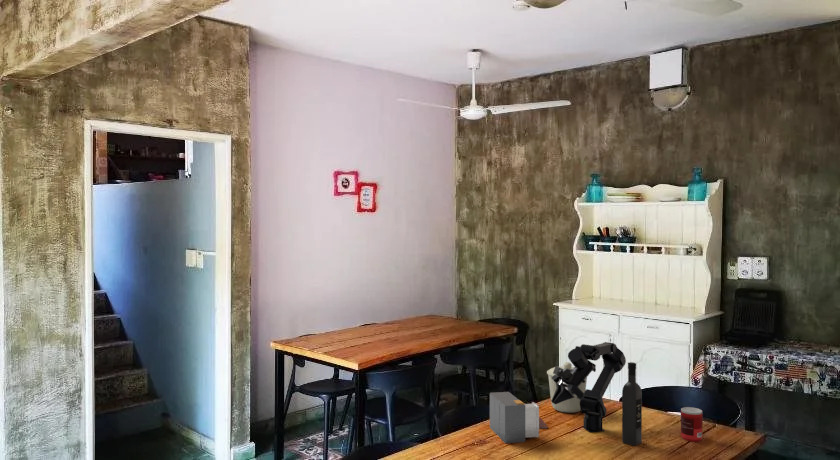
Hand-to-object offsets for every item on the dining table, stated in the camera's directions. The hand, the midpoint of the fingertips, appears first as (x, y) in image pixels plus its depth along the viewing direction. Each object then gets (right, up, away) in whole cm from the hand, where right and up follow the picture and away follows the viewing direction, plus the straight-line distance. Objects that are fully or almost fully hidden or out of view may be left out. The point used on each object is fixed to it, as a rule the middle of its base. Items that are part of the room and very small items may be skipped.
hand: (553, 402), depth 241 cm
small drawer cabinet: (-17, -13, +3) cm, 22 cm away
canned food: (+53, -13, -2) cm, 54 cm away
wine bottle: (+28, -13, -7) cm, 32 cm away
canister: (+14, -13, +36) cm, 41 cm away
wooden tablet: (-5, -14, +22) cm, 27 cm away
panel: (-11, -12, -2) cm, 16 cm away
